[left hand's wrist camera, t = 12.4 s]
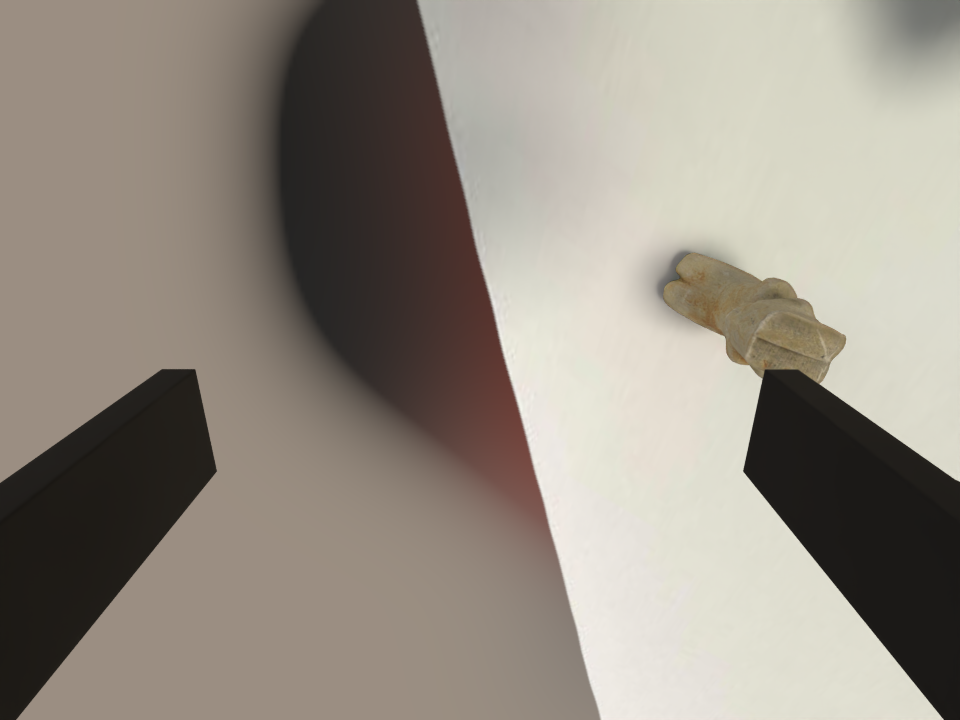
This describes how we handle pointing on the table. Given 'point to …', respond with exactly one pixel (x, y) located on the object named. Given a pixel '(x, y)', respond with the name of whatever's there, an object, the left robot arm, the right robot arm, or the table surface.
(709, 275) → the sculpture
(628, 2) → the table surface
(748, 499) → the table surface
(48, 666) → the left robot arm
